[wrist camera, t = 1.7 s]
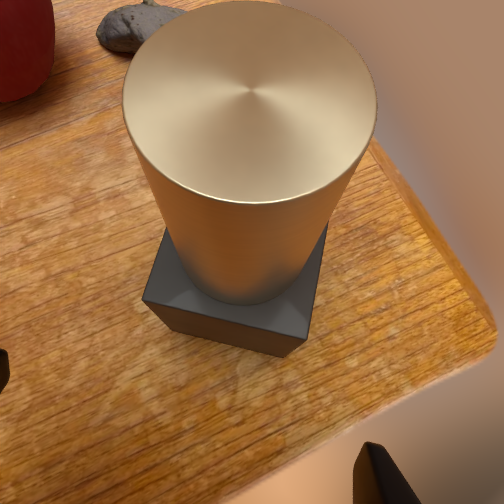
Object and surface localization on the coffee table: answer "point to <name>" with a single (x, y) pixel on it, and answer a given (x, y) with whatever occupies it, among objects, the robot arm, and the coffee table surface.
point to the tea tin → (247, 139)
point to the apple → (25, 46)
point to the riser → (233, 306)
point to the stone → (133, 25)
